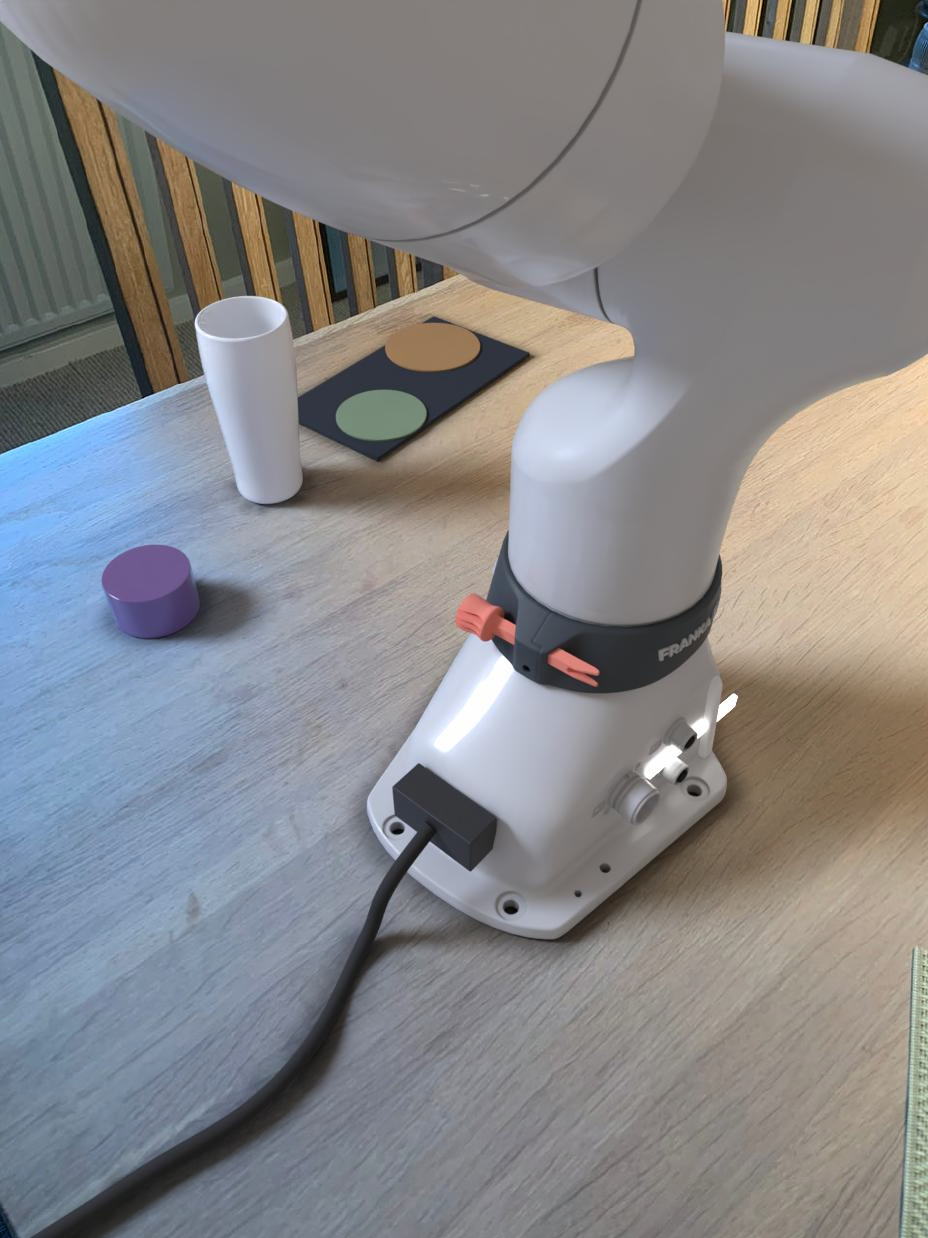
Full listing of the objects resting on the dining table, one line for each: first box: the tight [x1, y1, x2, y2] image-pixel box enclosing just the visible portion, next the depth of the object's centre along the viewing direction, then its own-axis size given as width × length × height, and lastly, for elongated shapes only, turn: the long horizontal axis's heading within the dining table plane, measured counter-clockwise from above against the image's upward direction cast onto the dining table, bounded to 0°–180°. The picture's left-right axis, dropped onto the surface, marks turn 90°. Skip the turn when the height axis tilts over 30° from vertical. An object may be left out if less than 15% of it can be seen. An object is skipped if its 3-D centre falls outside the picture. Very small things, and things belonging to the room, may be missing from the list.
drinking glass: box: [194, 295, 304, 505], centre depth 76 cm, size 7×7×15 cm
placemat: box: [298, 315, 531, 462], centre depth 92 cm, size 22×13×1 cm, turn 142°
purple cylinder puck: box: [100, 544, 201, 639], centre depth 69 cm, size 6×6×4 cm
